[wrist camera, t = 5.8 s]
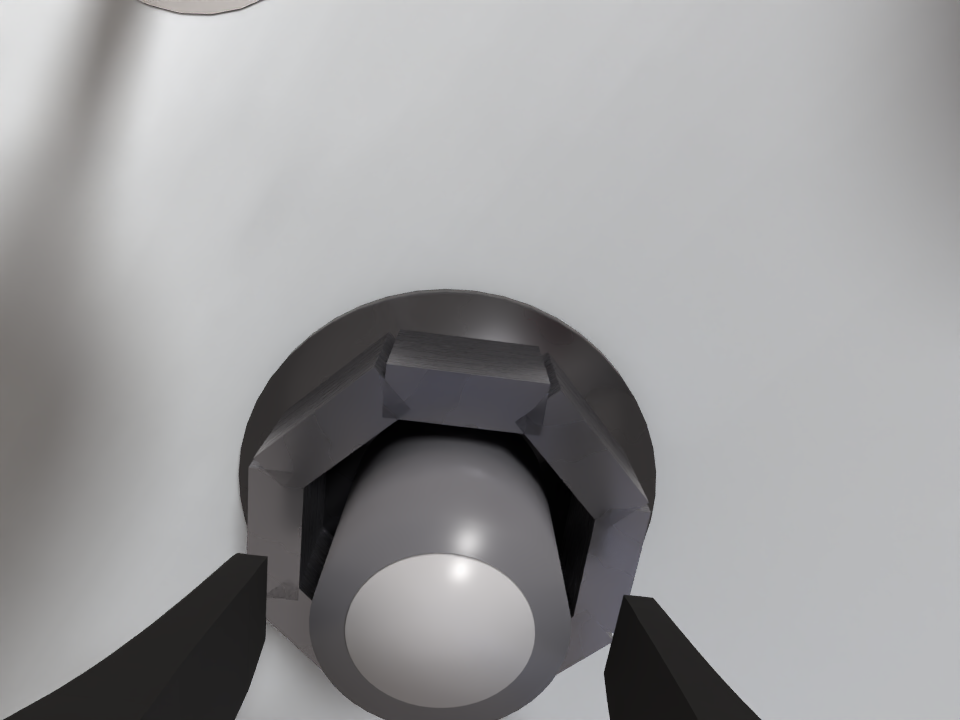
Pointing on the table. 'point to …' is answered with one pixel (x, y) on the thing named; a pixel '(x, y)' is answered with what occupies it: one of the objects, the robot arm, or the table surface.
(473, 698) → the cap
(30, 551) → the table surface
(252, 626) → the robot arm
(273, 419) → the socket
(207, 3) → the champagne flute
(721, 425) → the table surface
